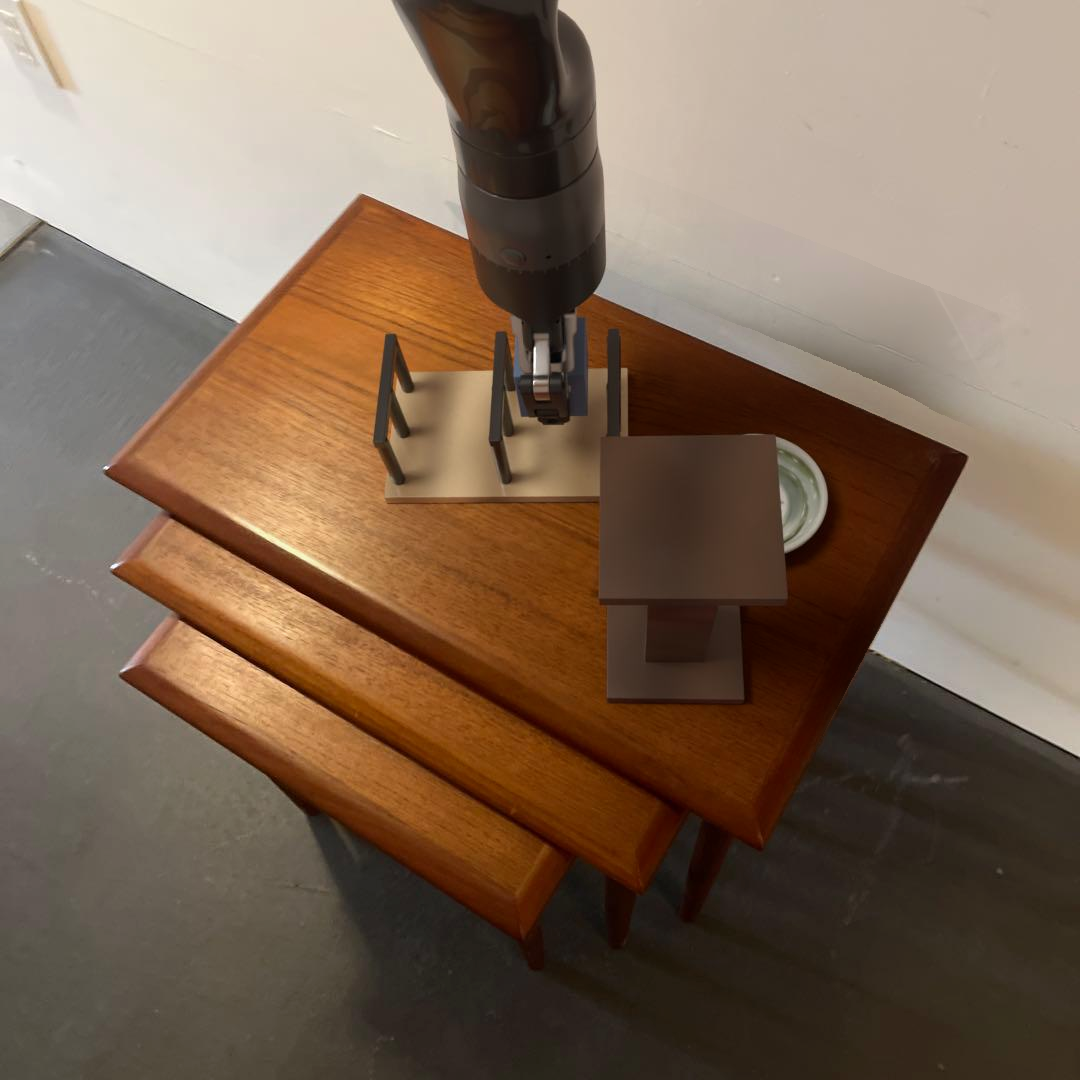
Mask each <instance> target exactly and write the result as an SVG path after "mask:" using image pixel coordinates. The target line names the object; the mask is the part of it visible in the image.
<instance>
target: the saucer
mask: <svg viewBox="0 0 1080 1080" xmlns="http://www.w3.org/2000/svg"><path fill="white" fill-rule="evenodd" d="M744 435H765V434H764V433H745V434H744ZM776 446H777V459H778V472H779V486H780V499H781V512H782V525H783V539H784V552H785V554H788V553H790V552H792V551H794V550H797V549H799V548H800V547H802V546H803V545H804V544H806V543H807V542H808V541H810V539H812V538H813V536H814V535H815V534H816V533H817V532H818V530H819V528H820V527H821V525H822V524H823V521H824V519H825V517H826V514H827V510H828V503H829V493H828V487H827V483H826V480H825V477H824V474H823V473H822V471H821V469H820V467H819V466H818V464H817V462H816V461H815V460H814V459H813V458H812V457H811V456H810V454H808V453H807V452H806V451H805V450H804V449H802V448H801V447H799V446H798V445H797V444H795V443H793V442H792V441H791V442H790V441H789V440H787V439H784V438H782V437H778V436H776Z"/></svg>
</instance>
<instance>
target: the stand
mask: <svg viewBox="0 0 1080 1080" xmlns="http://www.w3.org/2000/svg"><path fill="white" fill-rule="evenodd" d="M776 437H777V435H776V434H764V435H745V434H717V435H715V434H713V435H711V434H710V435H638V436H637V435H636V436H634V435H633V436H630V435H628V436H623V437H600V502H599V507H598V509H599V511H598V512H599V516H598V517H599V518H598V519H599V520H598V522H599V523H598V536H599V537H598V605H599V606H606V688H605V689H606V693H605V694H606V703H612V704H613V703H614V704H615V703H616V704H618V703H620V704H621V703H622V704H697V705H698V704H699V705H700V704H702V705H705V704H706V705H707V704H708V705H709V704H710V705H718V704H719V705H743V703H744V701H745V699H746V698H745V682H744V663H743V662H744V661H743V642H742V627H741V607H744V606H745V607H746V606H747V607H751V606H757V607H758V606H759V607H765V606H766V607H768V606H769V607H771V606H773V607H774V606H775V607H784V606H786V604H787V602H788V599H789V595H788V582H787V581H788V578H787V567H786V566H787V565H786V553H785V552H784V539H783V525H782V512H781V499H780V486H779V472H778V459H777V446H776ZM740 606H741V607H740Z"/></svg>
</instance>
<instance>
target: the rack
mask: <svg viewBox="0 0 1080 1080" xmlns="http://www.w3.org/2000/svg"><path fill="white" fill-rule="evenodd" d="M493 348H494V350H493V365H492V369H491V370H448V371H447V370H445V371H444V370H443V371H441V370H439V371H438V370H437V371H410V370H409V366H408V364H407V362H406V358H405V355H404V354H403V351H402V348H401V345H400V343H399V339H398V336H397V334H396V333H385V334H384V342H383V351H382V359H381V368H380V377H379V386H378V393H377V402H376V410H375V411H376V412H375V419H374V429H373V437H372V444H373V446H374V448H375V449H376V451H377V453H378V455H379V456H380V459H381V461H382V463H383V465H384V467H385V469H386V474H385V475H386V477H385V483H384V484H385V485H384V495H383V498H384V500H385V502H386V504H452V503H453V504H458V503H459V504H460V503H461V504H465V503H466V504H467V503H471V504H473V503H475V504H476V503H478V504H479V503H482V504H483V503H589V502H590V503H594V502H595V503H600V437H623V436H629V372H628V371H629V369H628V367H622V341H621V335H620V328H608V329H607V335H606V365H607V367H605V368H604V367H603V368H602V367H599V368H588V415H587V416H570V421H569V422H567V423H564V425H543V424H542V423H540V422H539V421H538V419H537V417H536V418H529V417H521V414H520V409H519V404H518V398H517V393H516V388H515V382H514V377H513V374H514V361H513V357H512V352H511V348H510V342H509V338H508V332H507V331H506V330H499V331H497V330H496V331H495V332H494V347H493ZM395 375H396V381H395ZM394 381H395V382H396V383H395V390H394ZM390 421H391V430H390V431H391V432H390V439H389V438H388V437H389V435H388V434H389V427H390Z"/></svg>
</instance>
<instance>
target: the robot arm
mask: <svg viewBox="0 0 1080 1080" xmlns="http://www.w3.org/2000/svg"><path fill="white" fill-rule="evenodd" d="M390 1H391V3H392V5H393V8H394V10H395V12H396V14H397V15H398V18H399V20H400V21H401V23H402V25H403V27H404V28H405V30H406V32H407V34H408V36H409V38H410V40H411V41H412V43H413V45H414V47H415V49H416V51H417V53H418V54H419V56H420V58H421V60H422V62H423V64H424V65H425V69H426V70H427V71H428V73H429V75H430V76H431V78H432V79H433V81H434V83H435V84H436V86H437V88H438V89H439V91H440V92H441V94H442V96H443V98H444V102H445V108H446V109H445V110H446V114H447V118H448V124H449V128H450V132H451V138H452V143H453V146H454V153H455V158H456V165H457V189H458V197H459V201H460V206H461V210H462V214H463V220H464V224H465V229H466V234H467V238H468V239H467V240H468V242H469V249H470V252H471V258H472V262H473V267H474V271H475V275H476V279H477V283H478V284H479V287H480V289H481V291H482V292H483V293H484V295H485V296H486V297H487V299H489V300H490V302H492V303H493V304H494V305H495V306H497V307H498V308H500V309H501V310H503V311H505V312H507V313H509V317H510V327H511V332H512V333H511V334H513V335H514V336H516V338H517V346H518V356H519V366H520V370H521V371H522V372H523V375H520V381H518V390H520V393H521V397H522V400H523V402H524V405H525V408H526V412H527V414H528V416H529V418H536V417H537V419H538V421H539V422H540V423H542V424H543V425H564V423H567V422H569V421H570V404H569V393H571V385H569V379H568V373H570V372H572V371H573V370H574V367H575V341H574V334H575V333H576V331H577V317H578V307H579V306H581V305H582V304H584V303H585V302H586V301H587V300H588V299H589V298H591V297H592V295H594V293H595V292H596V291H597V290H598V288H599V286H600V284H601V283H602V280H603V279H604V275H605V272H606V268H607V267H606V266H607V242H606V241H607V240H606V239H607V235H606V205H605V204H606V202H605V201H606V200H605V199H606V198H605V197H606V196H605V177H604V166H603V160H602V157H601V153H600V147H599V139H598V115H597V114H598V113H597V81H596V72H595V66H594V60H593V56H592V50H591V46H590V44H589V42H588V40H587V38H586V35H585V33H584V32H583V30H582V29H581V28H580V26H579V25H578V23H577V22H576V21H575V20H574V19H572V17H570V16H569V15H568V14H567V13H566V12H564V11H562V10H561V9H559V0H390ZM564 338H565V349H564V350H562V351H559V350H560V349H561V348H562V347H563V345H564Z"/></svg>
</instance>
